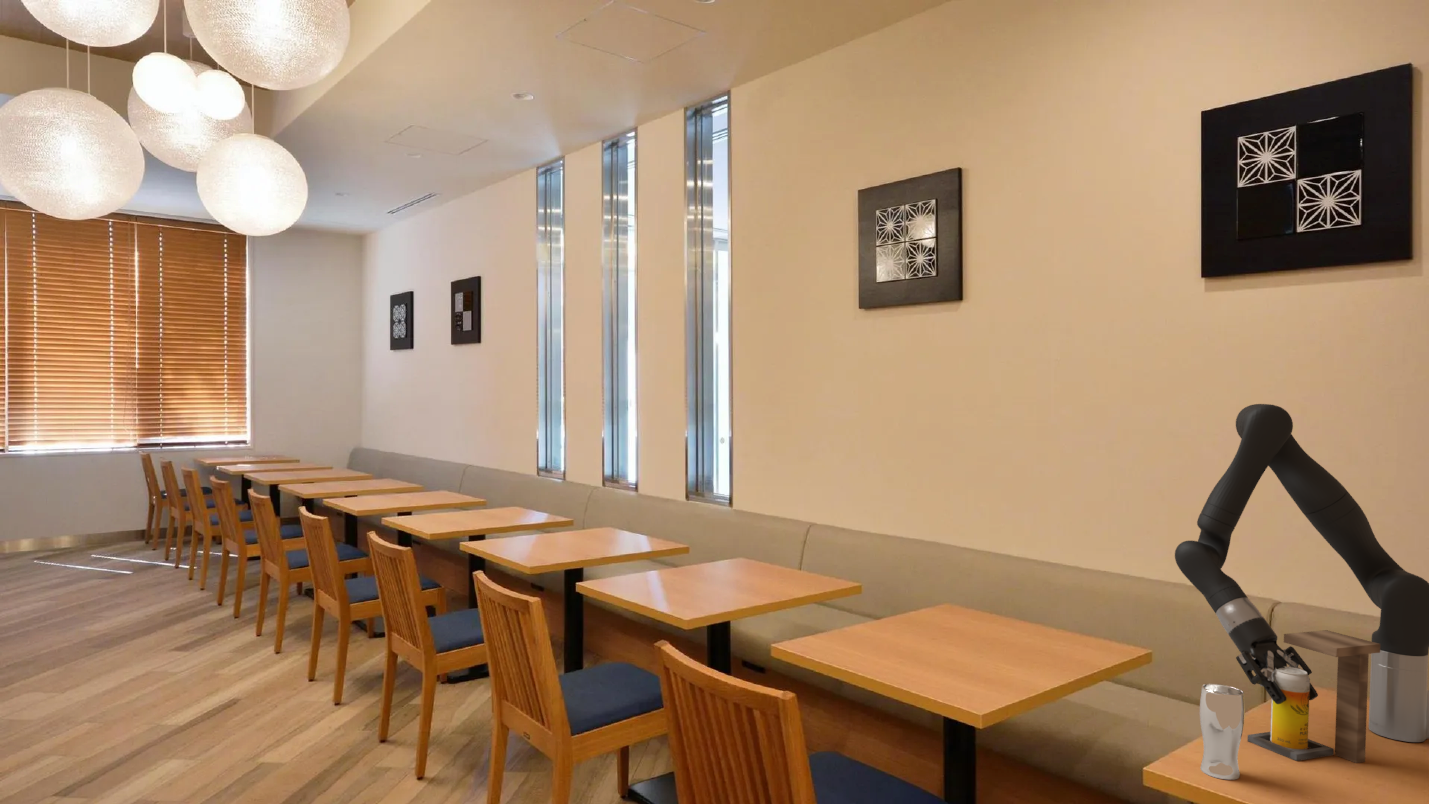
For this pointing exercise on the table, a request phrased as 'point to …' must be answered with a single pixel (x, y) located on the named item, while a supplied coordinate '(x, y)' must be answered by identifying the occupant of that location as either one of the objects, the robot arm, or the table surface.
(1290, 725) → the beer can
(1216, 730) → the beer glass
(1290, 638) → the overhang bracket
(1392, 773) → the table surface
